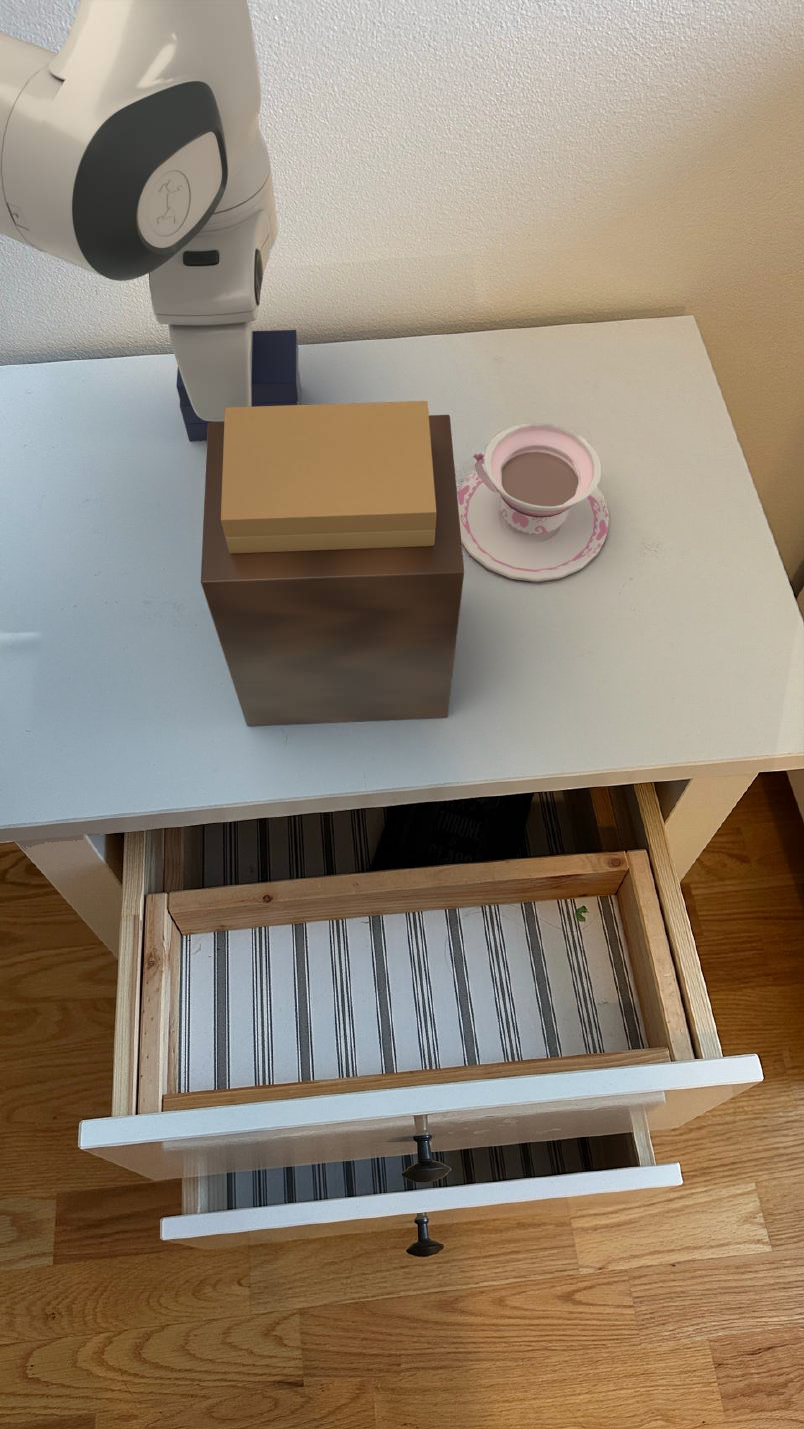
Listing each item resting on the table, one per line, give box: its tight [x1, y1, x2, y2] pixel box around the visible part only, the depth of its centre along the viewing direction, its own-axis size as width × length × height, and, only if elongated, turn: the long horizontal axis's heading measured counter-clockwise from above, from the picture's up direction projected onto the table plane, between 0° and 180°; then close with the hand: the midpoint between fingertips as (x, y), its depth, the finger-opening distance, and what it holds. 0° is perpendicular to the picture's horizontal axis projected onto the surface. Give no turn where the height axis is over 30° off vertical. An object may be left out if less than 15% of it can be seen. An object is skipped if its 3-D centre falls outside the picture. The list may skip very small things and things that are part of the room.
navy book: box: [175, 329, 299, 405], centre depth 76 cm, size 9×6×2 cm, turn 93°
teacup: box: [457, 422, 610, 583], centre depth 73 cm, size 12×12×6 cm
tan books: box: [221, 400, 436, 554], centre depth 53 cm, size 11×8×3 cm
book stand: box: [200, 414, 465, 727], centre depth 62 cm, size 14×11×18 cm
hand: (238, 370), depth 76 cm, fingers closed on navy book, 5 cm apart
